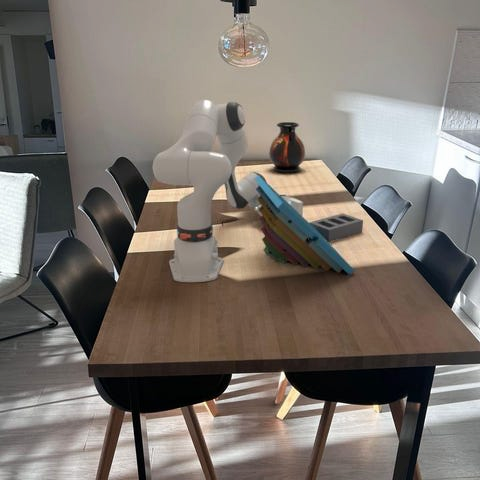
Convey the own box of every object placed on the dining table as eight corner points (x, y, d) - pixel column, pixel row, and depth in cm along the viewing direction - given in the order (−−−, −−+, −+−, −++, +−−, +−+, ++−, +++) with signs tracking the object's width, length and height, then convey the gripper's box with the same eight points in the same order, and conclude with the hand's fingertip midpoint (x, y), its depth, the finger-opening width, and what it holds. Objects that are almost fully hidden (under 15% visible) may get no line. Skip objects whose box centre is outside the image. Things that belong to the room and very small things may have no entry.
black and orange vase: (263, 168, 304) (264, 122, 294) (296, 165, 310) (297, 120, 300) (276, 176, 285) (277, 127, 275) (310, 173, 291) (312, 125, 281)
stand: (362, 231, 198) (363, 220, 196) (328, 242, 188) (329, 230, 186) (342, 224, 206) (342, 213, 205) (308, 234, 196) (309, 222, 195)
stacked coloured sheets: (288, 264, 195) (225, 209, 182) (320, 233, 193) (258, 175, 180) (316, 307, 163) (242, 243, 150) (354, 270, 161) (282, 202, 148)
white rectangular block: (301, 230, 201) (303, 202, 196) (298, 231, 200) (299, 202, 195) (293, 226, 205) (294, 199, 200) (290, 227, 203) (290, 200, 199)
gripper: (251, 201, 205) (272, 210, 195) (289, 193, 216) (310, 201, 206) (251, 216, 208) (272, 225, 197) (288, 207, 219) (310, 215, 208)
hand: (292, 212), depth 202 cm, fingers open, 8 cm apart
